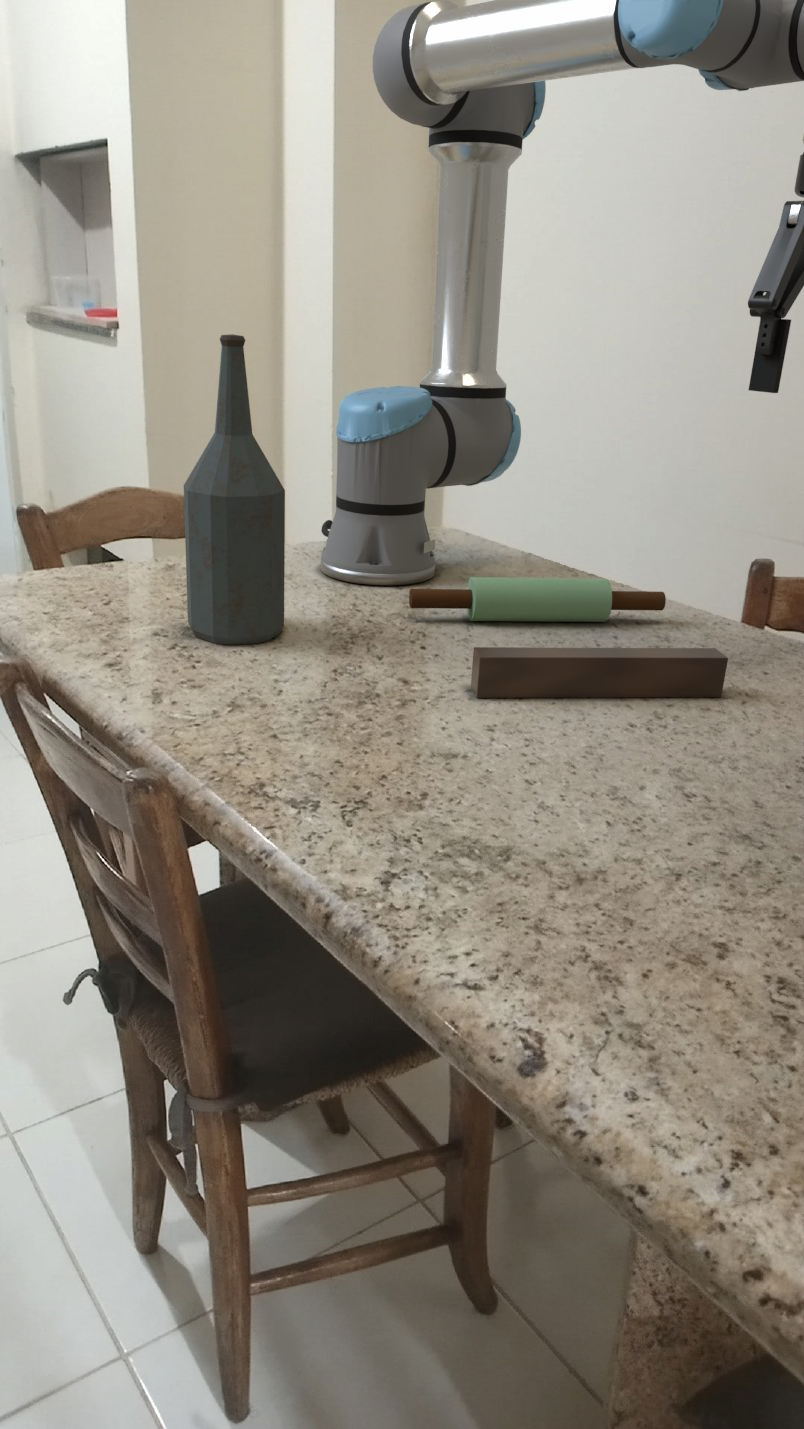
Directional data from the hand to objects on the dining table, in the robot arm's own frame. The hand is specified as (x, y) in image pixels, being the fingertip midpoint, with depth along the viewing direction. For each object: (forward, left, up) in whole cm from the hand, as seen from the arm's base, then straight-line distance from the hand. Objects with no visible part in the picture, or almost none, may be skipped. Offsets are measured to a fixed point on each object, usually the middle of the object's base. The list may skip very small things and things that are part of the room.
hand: (798, 391), depth 102 cm
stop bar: (-2, -25, -27) cm, 37 cm away
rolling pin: (-21, -12, -27) cm, 36 cm away
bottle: (-36, -43, -28) cm, 63 cm away
